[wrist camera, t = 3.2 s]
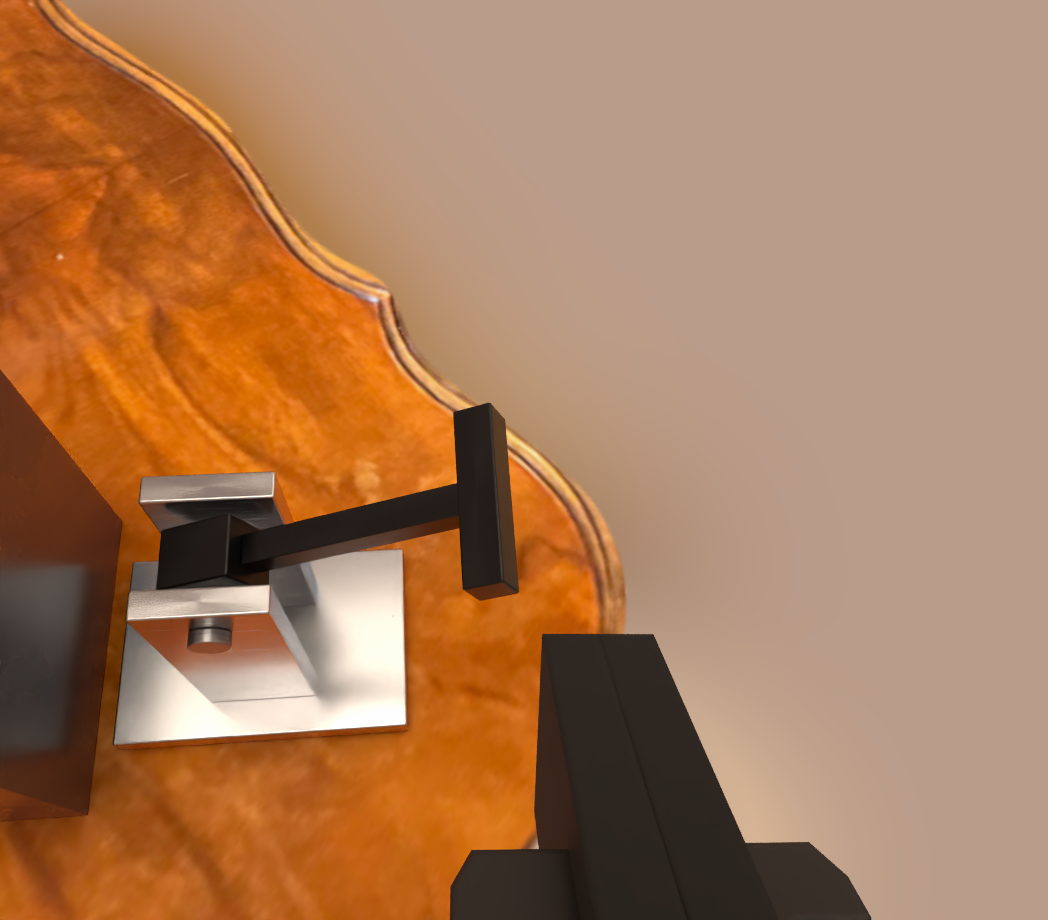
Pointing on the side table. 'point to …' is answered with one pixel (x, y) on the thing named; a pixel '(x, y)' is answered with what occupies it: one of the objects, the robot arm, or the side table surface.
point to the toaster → (49, 617)
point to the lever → (369, 525)
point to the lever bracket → (259, 636)
